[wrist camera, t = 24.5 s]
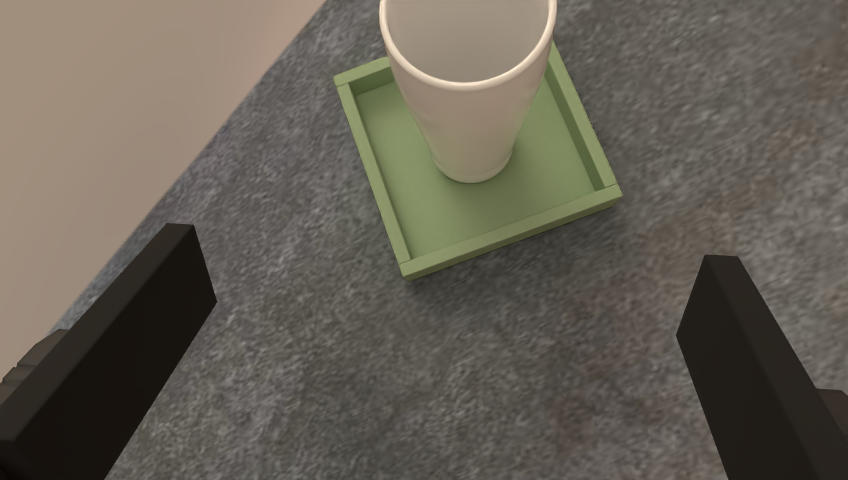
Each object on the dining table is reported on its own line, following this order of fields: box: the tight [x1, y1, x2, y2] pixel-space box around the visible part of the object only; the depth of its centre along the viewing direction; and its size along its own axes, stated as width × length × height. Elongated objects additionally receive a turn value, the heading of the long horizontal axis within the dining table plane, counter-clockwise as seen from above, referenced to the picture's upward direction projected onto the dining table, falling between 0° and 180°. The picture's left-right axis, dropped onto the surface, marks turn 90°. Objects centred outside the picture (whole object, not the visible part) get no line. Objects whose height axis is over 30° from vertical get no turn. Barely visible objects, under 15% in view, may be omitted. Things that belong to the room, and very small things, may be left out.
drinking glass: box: [379, 0, 557, 183], centre depth 27 cm, size 7×7×15 cm
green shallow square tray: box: [333, 39, 623, 281], centre depth 34 cm, size 14×14×3 cm
